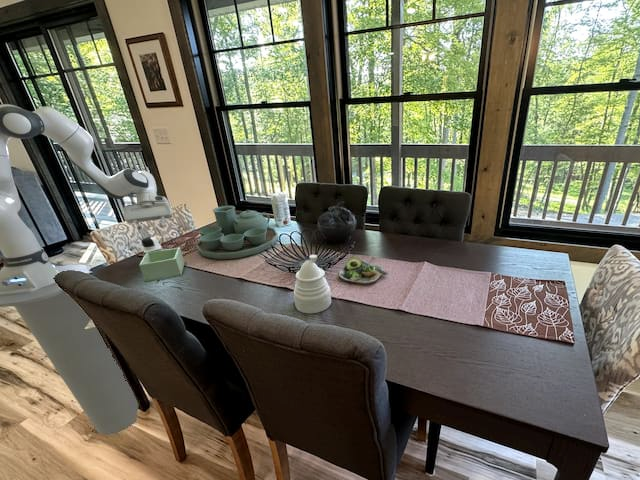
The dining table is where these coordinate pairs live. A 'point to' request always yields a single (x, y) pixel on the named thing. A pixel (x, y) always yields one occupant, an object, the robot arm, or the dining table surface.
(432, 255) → the dining table surface
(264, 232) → the tea set
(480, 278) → the dining table surface
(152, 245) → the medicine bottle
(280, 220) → the white ribbed cylinder
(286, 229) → the dining table surface
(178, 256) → the bin
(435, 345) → the dining table surface
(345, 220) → the coal bowl
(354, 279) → the salad plate
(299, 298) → the honey pot
